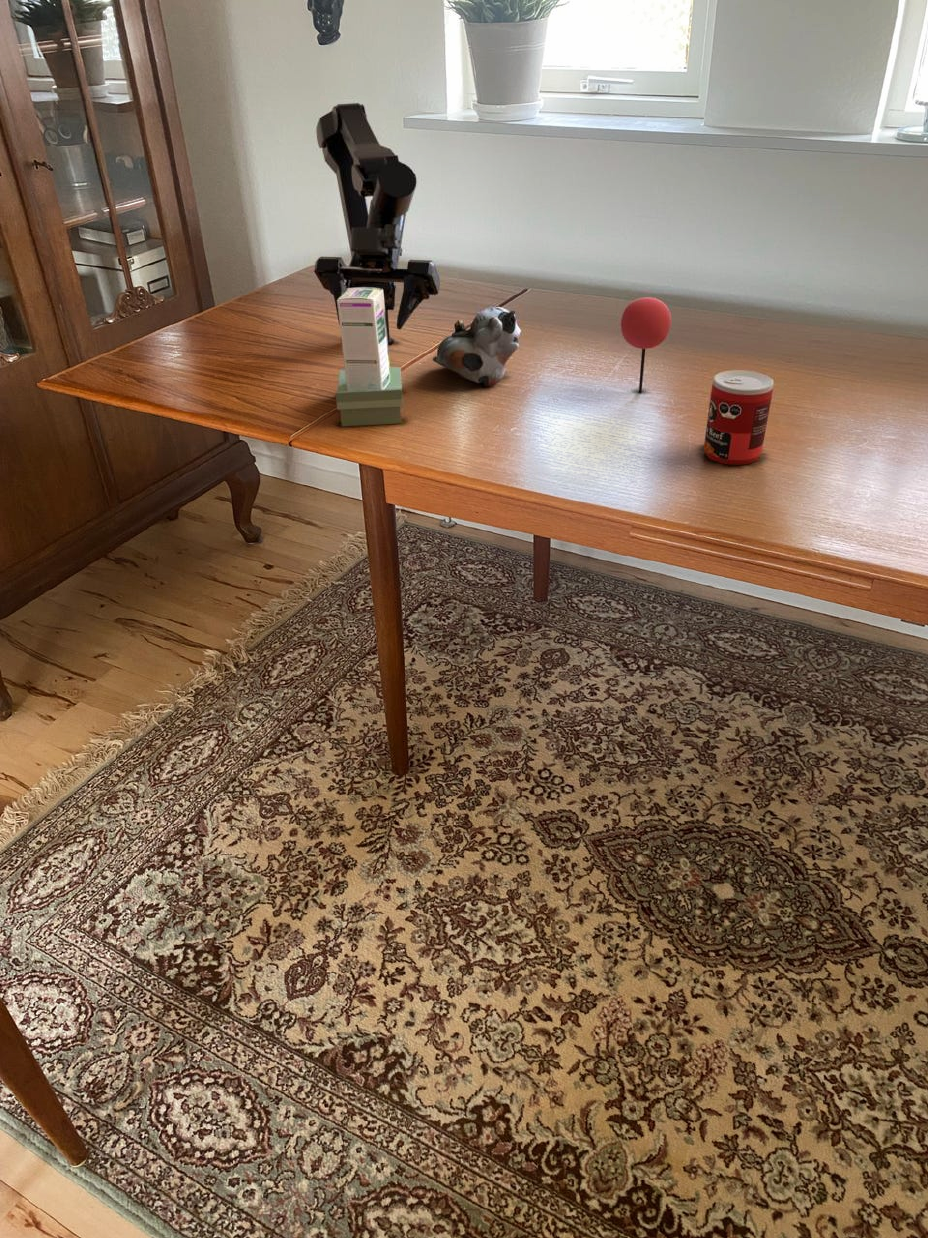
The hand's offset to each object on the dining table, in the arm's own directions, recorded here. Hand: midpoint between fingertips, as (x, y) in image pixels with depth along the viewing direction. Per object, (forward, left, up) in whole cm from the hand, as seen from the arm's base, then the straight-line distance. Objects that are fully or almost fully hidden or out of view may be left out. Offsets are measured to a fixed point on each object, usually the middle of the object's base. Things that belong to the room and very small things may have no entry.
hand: (369, 326), depth 141 cm
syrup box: (+2, +2, -9) cm, 9 cm away
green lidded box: (+1, +1, -13) cm, 13 cm away
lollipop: (-37, +23, -13) cm, 45 cm away
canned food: (-30, +48, -13) cm, 58 cm away
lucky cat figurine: (-21, 0, -13) cm, 24 cm away
